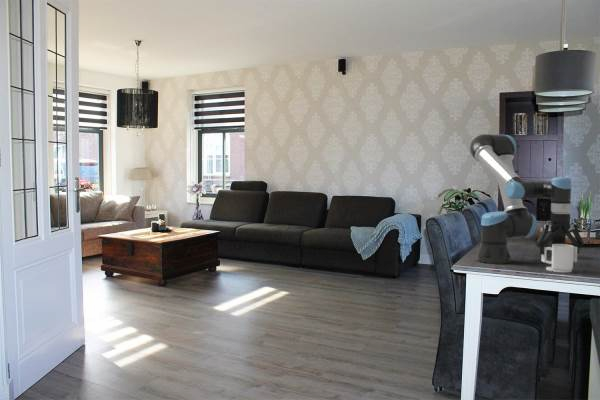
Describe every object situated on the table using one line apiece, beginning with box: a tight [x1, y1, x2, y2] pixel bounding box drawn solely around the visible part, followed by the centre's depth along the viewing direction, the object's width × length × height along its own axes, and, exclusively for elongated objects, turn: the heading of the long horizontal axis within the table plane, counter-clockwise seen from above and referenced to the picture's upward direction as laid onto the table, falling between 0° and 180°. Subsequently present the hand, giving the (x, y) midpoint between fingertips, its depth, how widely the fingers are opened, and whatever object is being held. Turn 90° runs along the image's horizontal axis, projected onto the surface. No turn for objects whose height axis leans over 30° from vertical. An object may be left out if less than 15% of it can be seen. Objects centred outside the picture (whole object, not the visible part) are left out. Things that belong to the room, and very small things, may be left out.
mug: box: [534, 230, 567, 258], centre depth 258 cm, size 11×15×12 cm
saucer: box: [545, 265, 573, 274], centre depth 221 cm, size 10×10×1 cm
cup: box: [545, 243, 574, 271], centre depth 221 cm, size 8×12×10 cm
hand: (559, 261), depth 221 cm, fingers open, 13 cm apart
